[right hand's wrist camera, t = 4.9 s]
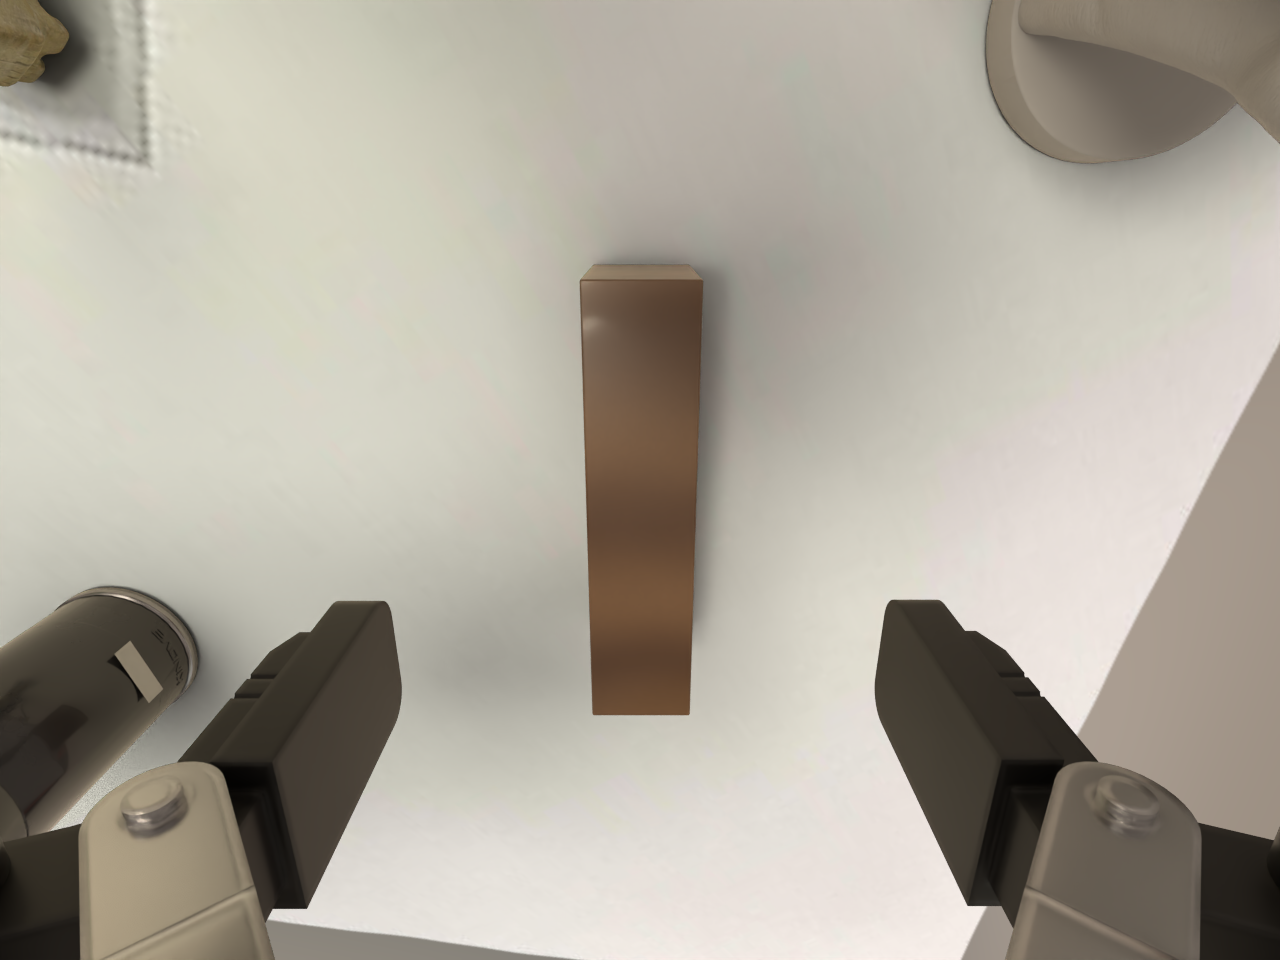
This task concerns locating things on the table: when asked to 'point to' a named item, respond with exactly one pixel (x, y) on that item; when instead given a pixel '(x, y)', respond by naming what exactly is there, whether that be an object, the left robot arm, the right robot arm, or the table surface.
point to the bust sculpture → (1131, 71)
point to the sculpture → (27, 40)
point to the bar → (641, 481)
